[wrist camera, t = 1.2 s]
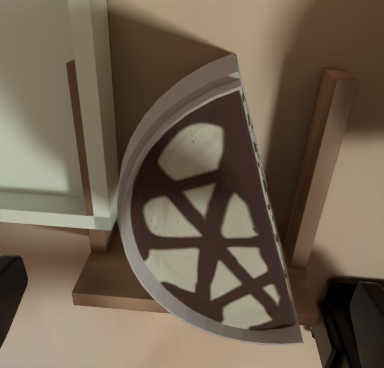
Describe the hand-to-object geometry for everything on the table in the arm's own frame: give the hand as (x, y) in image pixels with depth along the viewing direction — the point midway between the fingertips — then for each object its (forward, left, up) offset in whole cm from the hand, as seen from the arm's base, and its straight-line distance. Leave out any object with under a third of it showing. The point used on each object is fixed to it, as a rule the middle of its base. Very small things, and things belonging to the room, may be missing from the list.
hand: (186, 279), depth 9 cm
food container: (0, +2, -13) cm, 13 cm away
